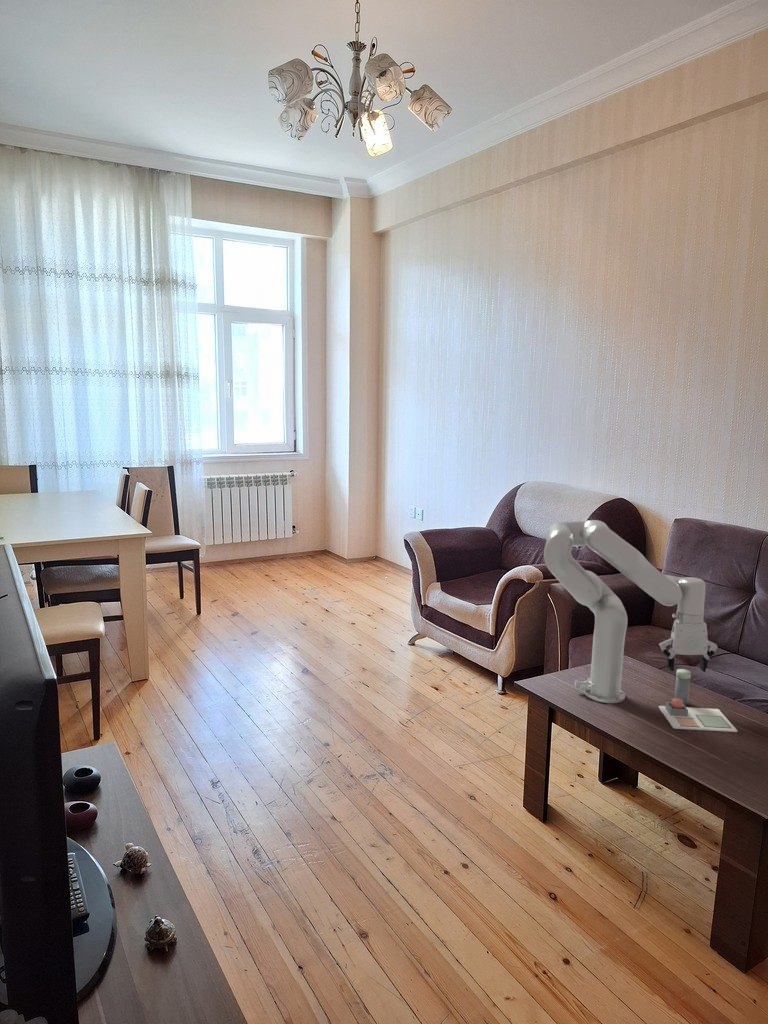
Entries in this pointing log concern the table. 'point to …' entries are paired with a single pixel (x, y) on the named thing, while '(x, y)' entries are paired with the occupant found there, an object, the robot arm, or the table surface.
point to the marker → (682, 685)
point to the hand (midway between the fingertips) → (686, 669)
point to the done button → (677, 703)
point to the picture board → (697, 718)
